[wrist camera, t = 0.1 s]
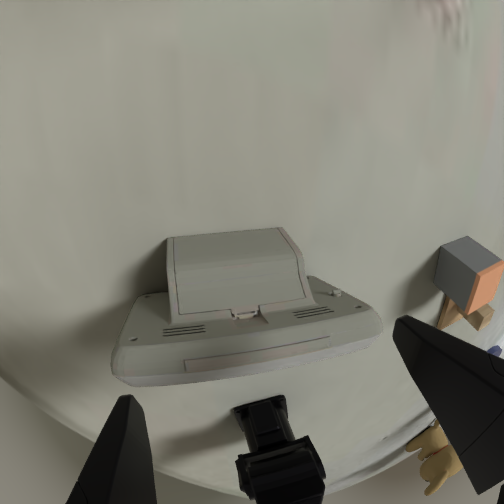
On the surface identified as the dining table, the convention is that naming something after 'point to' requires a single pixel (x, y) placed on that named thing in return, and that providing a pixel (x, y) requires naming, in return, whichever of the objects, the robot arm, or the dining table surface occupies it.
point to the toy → (435, 457)
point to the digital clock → (237, 313)
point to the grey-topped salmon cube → (468, 273)
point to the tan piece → (464, 315)
